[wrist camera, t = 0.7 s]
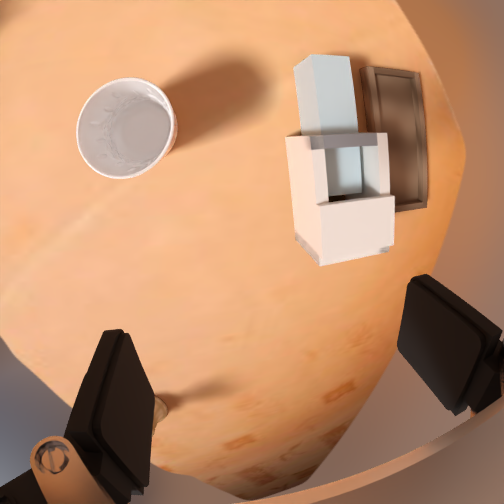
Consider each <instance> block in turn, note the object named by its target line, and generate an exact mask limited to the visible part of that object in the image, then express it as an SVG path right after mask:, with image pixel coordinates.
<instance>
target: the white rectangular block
mask: <svg viewBox="0 0 504 504" xmlns="http://www.w3.org/2000/svg"><path fill="white" fill-rule="evenodd" d="M293 69H294V76H295V84H296V91H297V99H298V107H299V116H300V124H301V134H302V136H310V135H330V134H350V133H358V123H357V113H356V103H355V95H354V87H353V80H352V73H351V66H350V60H349V56H335V55H314V54H311V55H310V56H308V57H307V58H305V59H304V60H303V61H301V62H300V63H299V64H297V65H296V66H295V67H293ZM324 150H325V161H326V173H327V185H328V196H336V195H344V194H353V193H362V183H361V162H360V147H343V148H329V149H324Z"/></svg>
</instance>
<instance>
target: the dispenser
mask: <svg viewBox="0 0 504 504" xmlns="http://www.w3.org/2000/svg"><path fill="white" fill-rule="evenodd" d="M285 141H286V149H287V158H288V167H289V176H290V185H291V195H292V205H293V216H294V227H295V239H296V241H297V242H298V243H299V244H300V245H301V246H302V247H303V248H304V249H305V251H306V252H307V253H308V254H309V255H310V256H311V257H312V258H313V259H314V261H315V262H316V263H317V264H318V265H319V266H324V265H329V264H334V263H339V262H343V261H348V260H353V259H357V258H362V257H367V256H371V255H376V254H380V253H385V252H389V246H392V245H394V217H395V196H393V195H390V173H389V153H388V138H387V133H365V132H358V133H350V134H330V135H310V136H290V137H285ZM343 147H360V162H361V183H362V193H353V194H345V200H344V201H336V202H329V200H328V185H327V173H326V161H325V150H324V149H329V148H343Z"/></svg>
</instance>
